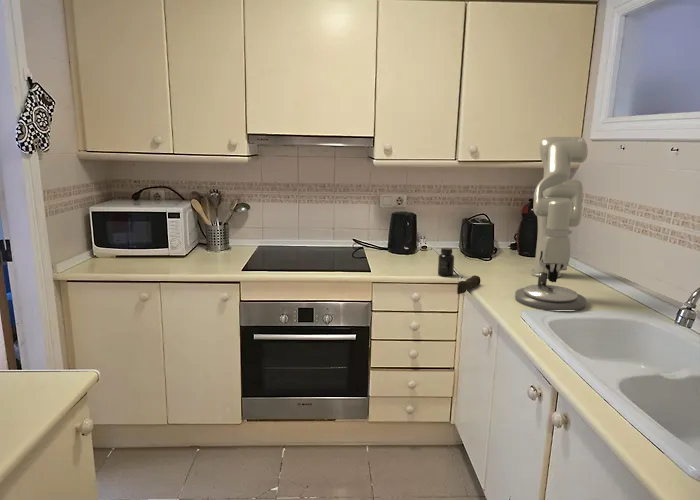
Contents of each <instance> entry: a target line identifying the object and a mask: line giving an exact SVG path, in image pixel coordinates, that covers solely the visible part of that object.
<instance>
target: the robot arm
mask: <svg viewBox="0 0 700 500" xmlns="http://www.w3.org/2000/svg"><path fill="white" fill-rule="evenodd" d="M588 152H589V148H588V143H587V141H586V140H585V138H584V137H582V136H549V137H546V138H543V139H541V141H540V143H539V155H540V158H541V159H540V160H541V162H542V166H543V176H542V177H543V178H541V180H540V181H539V182H538V183H537V185H536V186H535V189H534V192H533V202H532V203H533V204H532V205H533V208H532V210H533V213H534V215H535V216H536V217H537V236H536V237H537V240H536V248H535V257H534V258H535V259H534V260H535V261H534V269H531V270H530V275H532V276H534V277H538V276H539V272H545V273H547V280H548V281H549V282H551V283H557V280H558V278H560V277H562V273H561V271H567V269H568V267H569V265H570V264H569V262H570V260H571V259H570V258H571V242H570V237H569V235H572V232H573V231H572V230H570V229H569V228H575V227H578V226H579V225H580V223H581V221H582V220H581V219H582V208H583V195H584V194H583V192H584V187H583V183H582V182H581V180H578V179H570V177H571V164H576V163H578V164H579V163H580V164H581V163H582V164H583V163H584V162H585V161H586V160H587V158H588V154H589V153H588Z"/></svg>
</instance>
